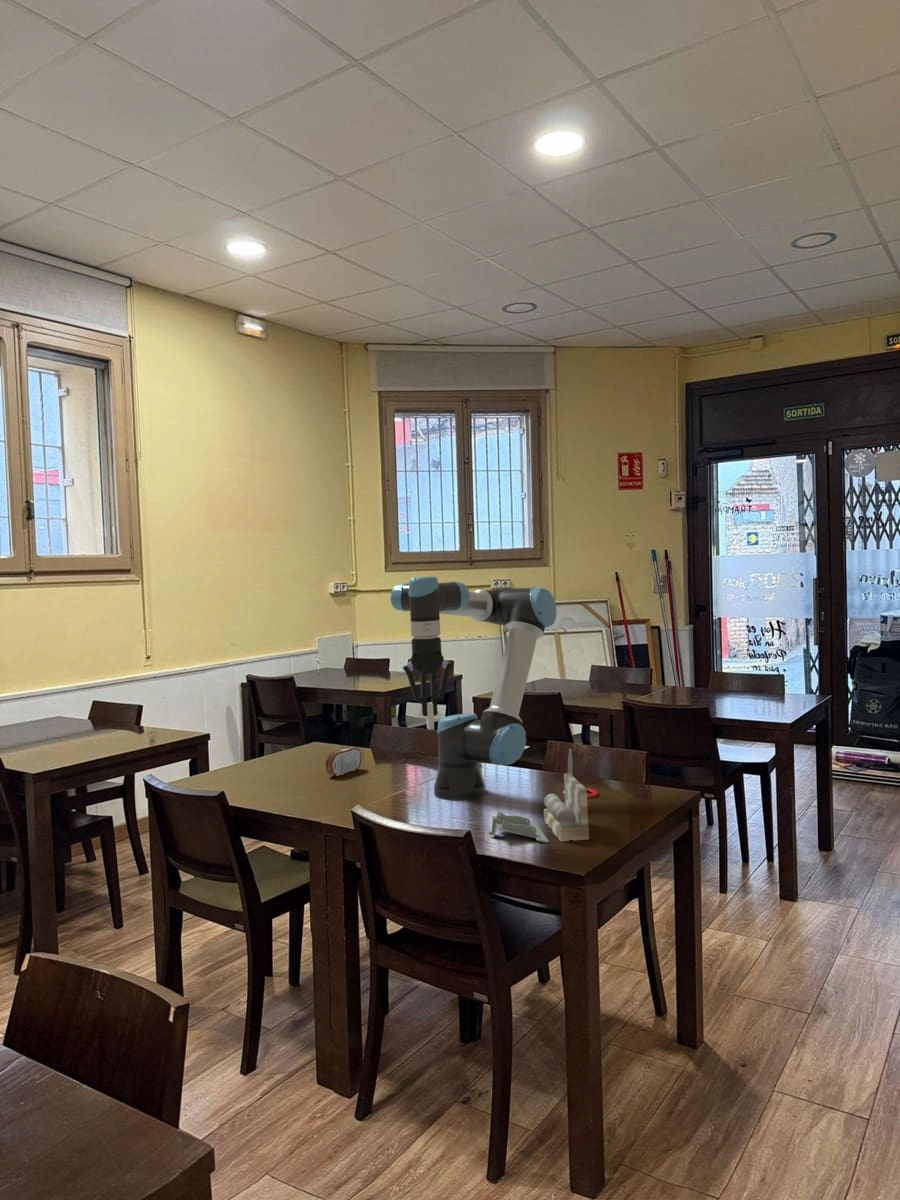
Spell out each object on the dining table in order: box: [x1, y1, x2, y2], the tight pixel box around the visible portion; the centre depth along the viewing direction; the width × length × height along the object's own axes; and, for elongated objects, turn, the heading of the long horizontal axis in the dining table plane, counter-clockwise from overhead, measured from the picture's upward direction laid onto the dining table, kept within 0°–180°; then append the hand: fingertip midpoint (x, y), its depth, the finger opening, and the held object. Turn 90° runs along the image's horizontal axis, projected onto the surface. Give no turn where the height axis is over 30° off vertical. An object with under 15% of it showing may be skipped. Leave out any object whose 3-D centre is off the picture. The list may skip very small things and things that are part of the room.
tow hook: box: [561, 748, 599, 797], centre depth 236 cm, size 8×13×9 cm
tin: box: [325, 746, 362, 777], centre depth 271 cm, size 15×3×8 cm, turn 144°
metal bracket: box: [488, 811, 550, 844], centre depth 202 cm, size 14×6×15 cm
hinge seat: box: [543, 772, 590, 842], centre depth 205 cm, size 17×7×12 cm, turn 7°
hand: (430, 728), depth 211 cm, fingers closed
